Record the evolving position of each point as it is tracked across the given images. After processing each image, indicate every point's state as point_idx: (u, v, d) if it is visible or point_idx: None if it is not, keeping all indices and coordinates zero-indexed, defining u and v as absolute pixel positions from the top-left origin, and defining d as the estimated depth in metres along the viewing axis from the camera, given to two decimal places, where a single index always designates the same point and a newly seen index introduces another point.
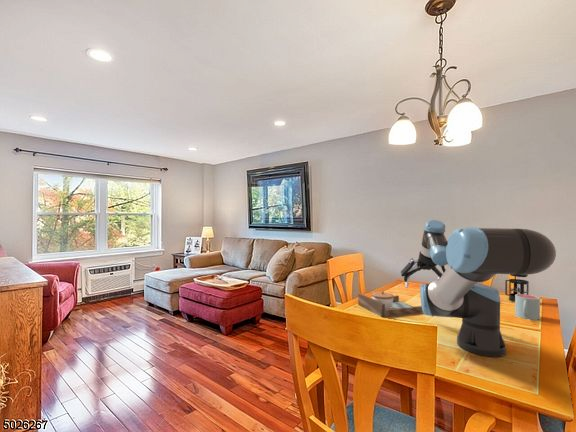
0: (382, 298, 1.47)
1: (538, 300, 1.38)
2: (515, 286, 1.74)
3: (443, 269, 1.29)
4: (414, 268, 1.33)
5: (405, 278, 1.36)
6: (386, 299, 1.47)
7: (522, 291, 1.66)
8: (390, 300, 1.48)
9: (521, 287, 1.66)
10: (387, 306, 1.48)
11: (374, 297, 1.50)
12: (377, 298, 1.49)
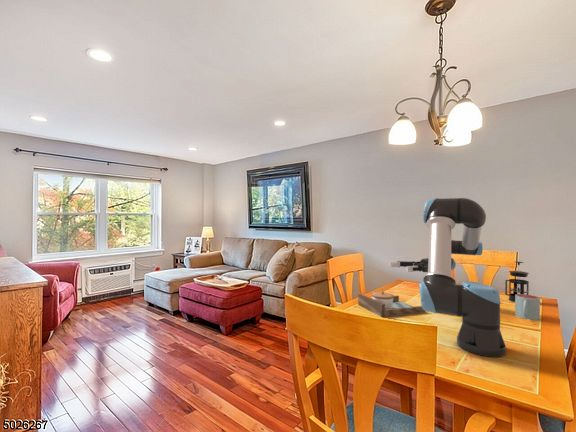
0: (382, 298, 1.47)
1: (538, 300, 1.38)
2: (515, 286, 1.74)
3: (427, 265, 1.53)
4: None
5: None
6: (386, 299, 1.47)
7: (522, 291, 1.66)
8: (390, 300, 1.48)
9: (521, 287, 1.66)
10: (387, 306, 1.48)
11: (374, 297, 1.50)
12: (377, 298, 1.49)
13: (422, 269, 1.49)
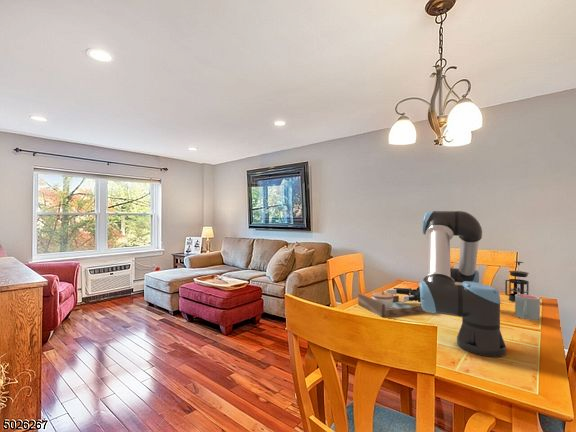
0: (382, 298, 1.47)
1: (538, 300, 1.38)
2: (515, 286, 1.74)
3: None
4: None
5: None
6: (386, 299, 1.47)
7: (522, 291, 1.66)
8: (390, 300, 1.48)
9: (521, 287, 1.66)
10: (387, 306, 1.48)
11: (374, 297, 1.50)
12: (377, 298, 1.49)
13: (418, 299, 1.48)
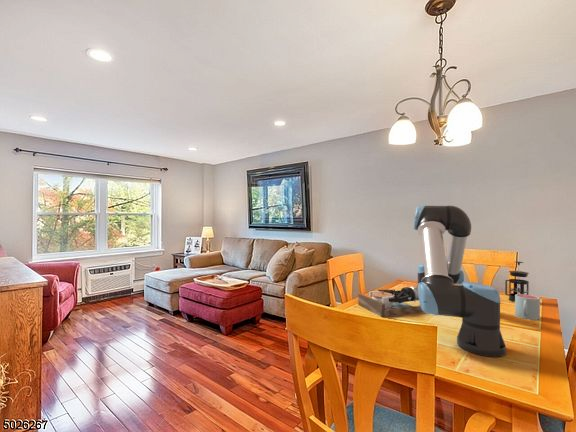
0: None
1: (538, 300, 1.38)
2: (515, 286, 1.74)
3: (405, 296, 1.49)
4: None
5: (377, 291, 1.59)
6: None
7: (522, 291, 1.66)
8: None
9: (521, 287, 1.66)
10: (387, 306, 1.48)
11: (374, 297, 1.50)
12: (377, 298, 1.49)
13: (398, 300, 1.45)
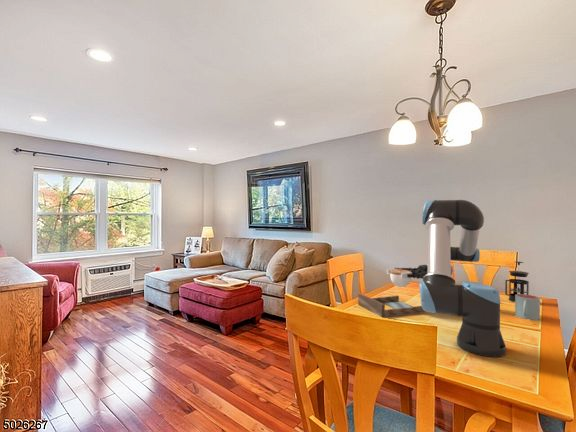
0: None
1: (538, 300, 1.38)
2: (515, 286, 1.74)
3: (423, 272, 1.53)
4: None
5: None
6: None
7: (522, 291, 1.66)
8: None
9: (521, 287, 1.66)
10: (405, 282, 1.51)
11: (392, 273, 1.54)
12: (396, 274, 1.52)
13: (416, 276, 1.49)
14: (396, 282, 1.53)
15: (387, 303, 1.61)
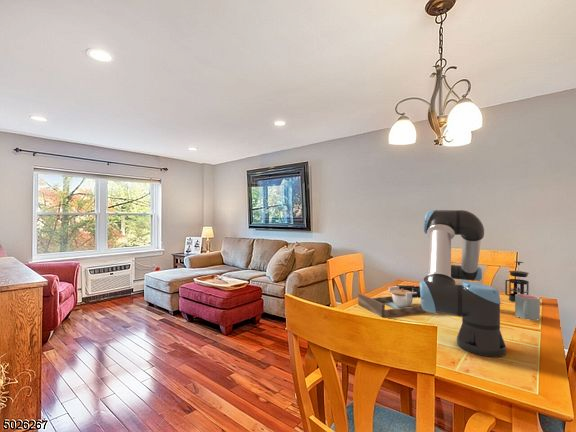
0: (402, 295, 1.51)
1: (538, 300, 1.38)
2: (515, 286, 1.74)
3: None
4: None
5: None
6: None
7: (522, 291, 1.66)
8: None
9: (521, 287, 1.66)
10: (407, 303, 1.52)
11: (394, 294, 1.54)
12: (398, 295, 1.53)
13: None
14: (398, 303, 1.53)
15: (387, 303, 1.61)
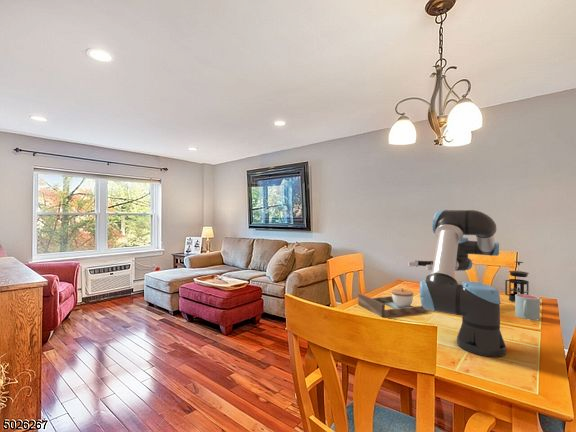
0: (402, 295, 1.51)
1: (538, 300, 1.38)
2: (515, 286, 1.74)
3: None
4: None
5: None
6: (406, 296, 1.51)
7: (522, 291, 1.66)
8: (410, 297, 1.52)
9: (521, 287, 1.66)
10: (407, 303, 1.52)
11: (394, 294, 1.54)
12: (398, 295, 1.53)
13: None
14: (398, 303, 1.53)
15: (387, 303, 1.61)
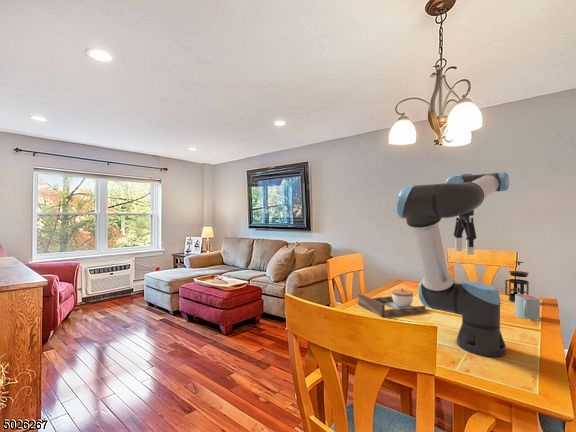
0: (402, 295, 1.51)
1: (538, 300, 1.38)
2: (515, 286, 1.74)
3: (467, 225, 1.30)
4: None
5: (456, 239, 1.44)
6: (406, 296, 1.51)
7: (522, 291, 1.66)
8: (410, 297, 1.52)
9: (521, 287, 1.66)
10: (407, 303, 1.52)
11: (394, 294, 1.54)
12: (398, 295, 1.53)
13: (472, 238, 1.27)
14: (398, 303, 1.53)
15: (387, 303, 1.61)
